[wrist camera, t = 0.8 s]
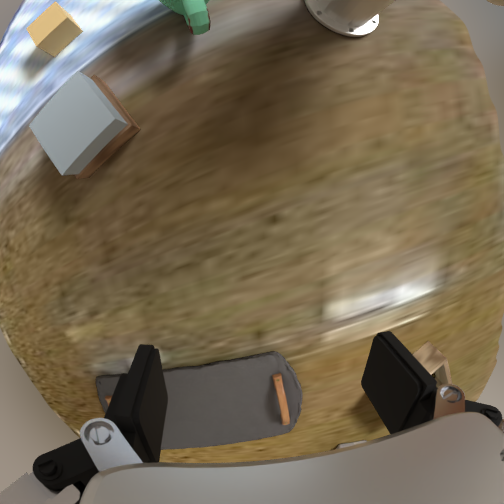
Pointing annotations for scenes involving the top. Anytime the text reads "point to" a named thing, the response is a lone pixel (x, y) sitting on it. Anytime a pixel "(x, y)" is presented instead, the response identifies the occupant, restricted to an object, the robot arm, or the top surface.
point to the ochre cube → (54, 29)
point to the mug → (192, 13)
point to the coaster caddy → (434, 363)
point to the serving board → (224, 401)
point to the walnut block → (118, 139)
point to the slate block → (76, 124)
